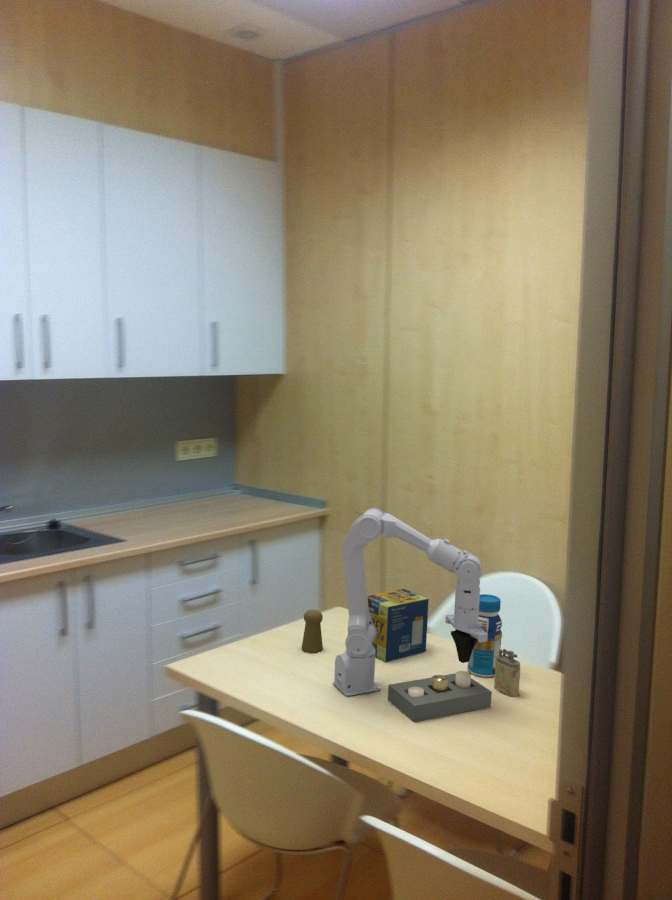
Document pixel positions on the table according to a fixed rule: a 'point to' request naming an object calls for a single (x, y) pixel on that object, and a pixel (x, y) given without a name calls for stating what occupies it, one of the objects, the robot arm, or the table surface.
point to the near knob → (416, 691)
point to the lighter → (507, 673)
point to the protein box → (398, 624)
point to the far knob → (462, 679)
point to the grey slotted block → (438, 699)
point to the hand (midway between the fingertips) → (463, 661)
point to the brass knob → (440, 683)
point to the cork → (312, 632)
